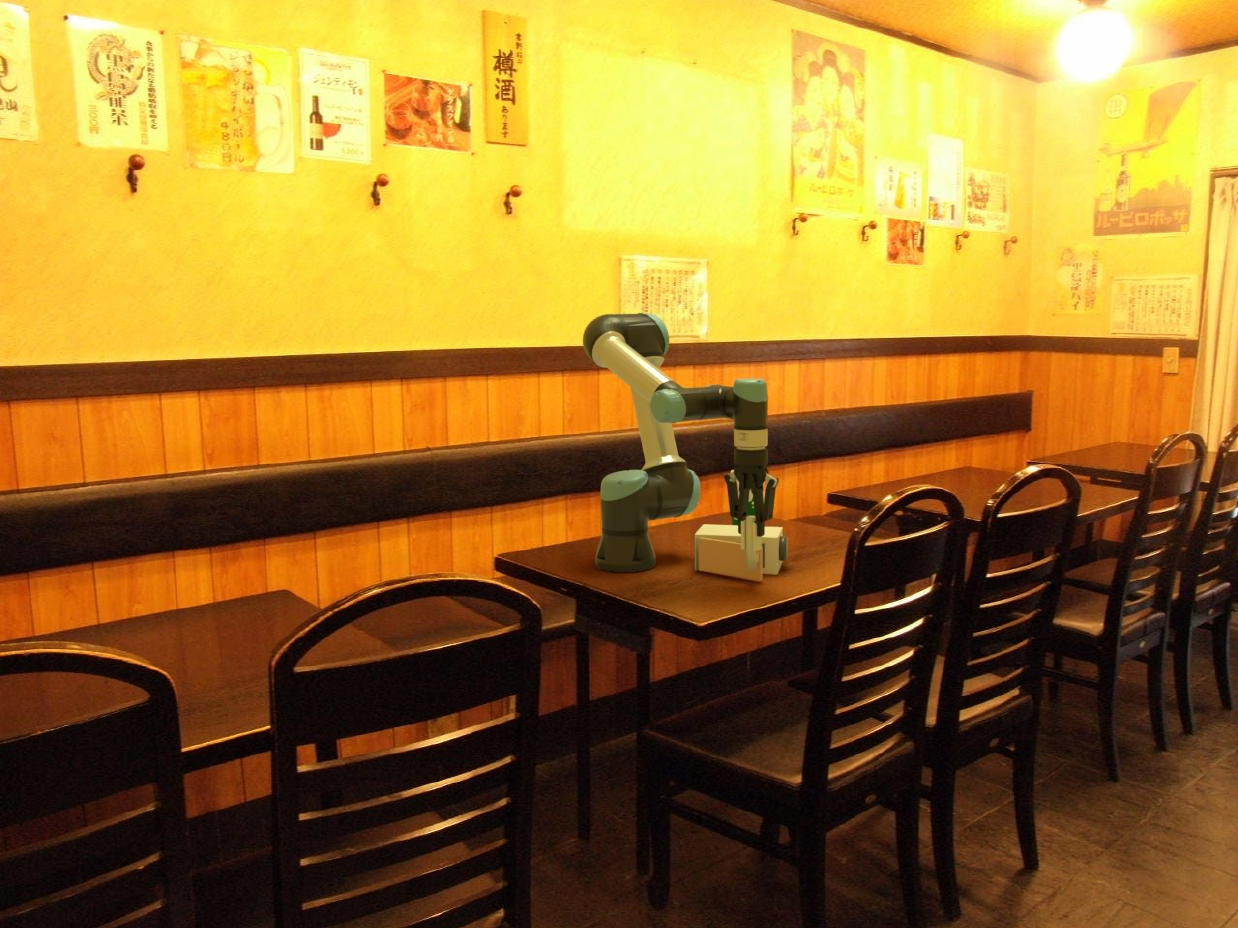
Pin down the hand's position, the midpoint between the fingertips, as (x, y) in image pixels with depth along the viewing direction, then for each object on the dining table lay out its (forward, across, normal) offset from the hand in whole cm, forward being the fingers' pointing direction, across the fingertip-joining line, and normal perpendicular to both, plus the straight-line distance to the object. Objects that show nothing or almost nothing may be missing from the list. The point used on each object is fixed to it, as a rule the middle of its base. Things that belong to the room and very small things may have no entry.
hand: (751, 548), depth 225 cm
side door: (+8, -8, +1) cm, 11 cm away
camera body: (+9, -11, +13) cm, 19 cm away
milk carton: (+9, -30, +48) cm, 57 cm away
